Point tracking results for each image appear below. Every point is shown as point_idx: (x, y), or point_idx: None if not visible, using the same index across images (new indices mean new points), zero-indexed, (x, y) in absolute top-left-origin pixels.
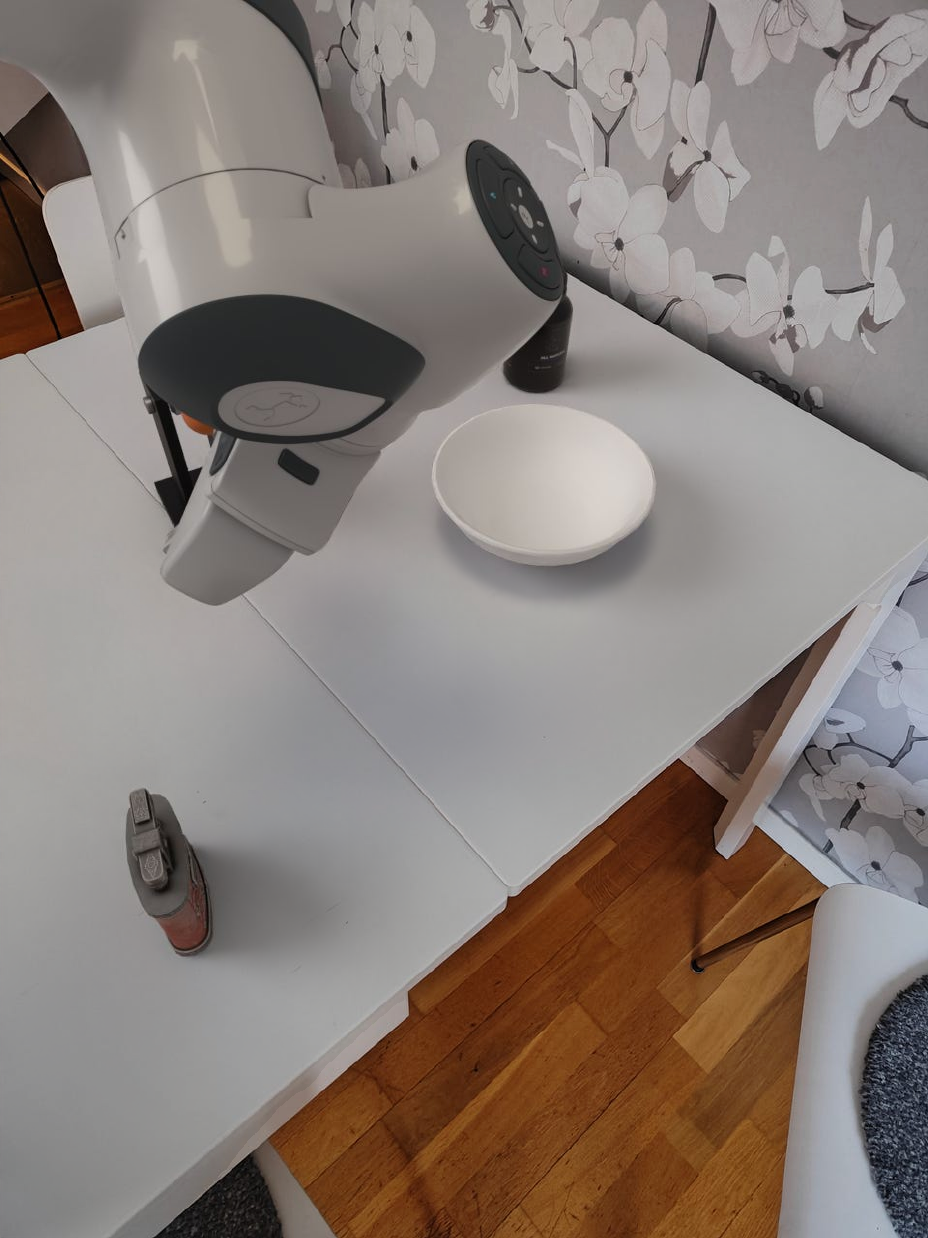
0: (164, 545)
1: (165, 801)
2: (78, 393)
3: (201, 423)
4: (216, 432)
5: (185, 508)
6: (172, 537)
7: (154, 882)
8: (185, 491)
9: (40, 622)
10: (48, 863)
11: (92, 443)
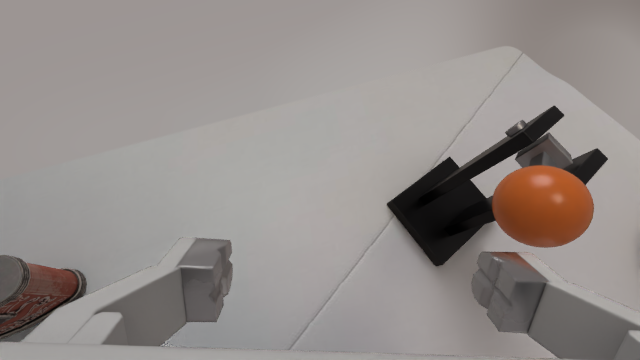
0: (186, 239)
1: (8, 293)
2: (509, 86)
3: (508, 207)
4: (493, 262)
5: (72, 350)
6: (178, 259)
7: None
8: (440, 186)
9: (306, 117)
10: (82, 183)
11: (471, 106)
